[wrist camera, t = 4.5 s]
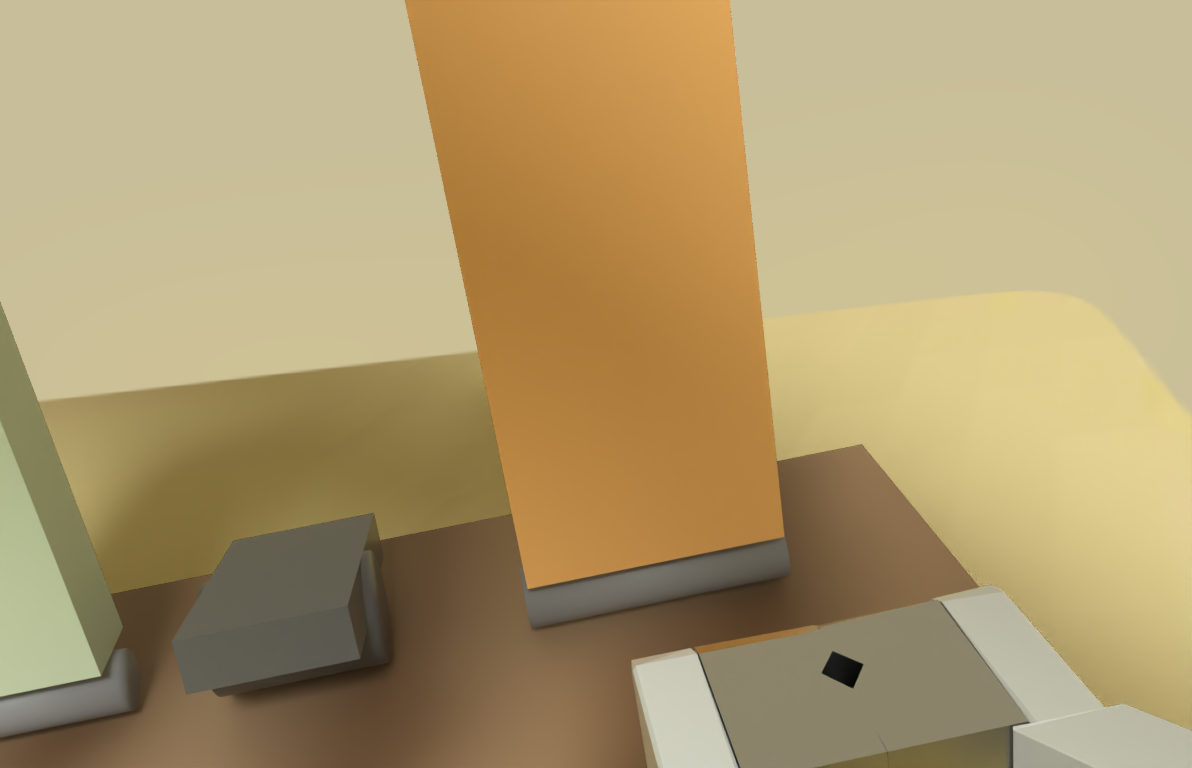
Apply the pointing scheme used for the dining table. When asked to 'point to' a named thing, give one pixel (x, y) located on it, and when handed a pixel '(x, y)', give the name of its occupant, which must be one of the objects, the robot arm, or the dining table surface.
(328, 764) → the walnut switch board
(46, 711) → the sage paddle lever
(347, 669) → the dark gray rocker switch
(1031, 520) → the dining table surface
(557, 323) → the orange paddle lever
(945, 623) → the robot arm
